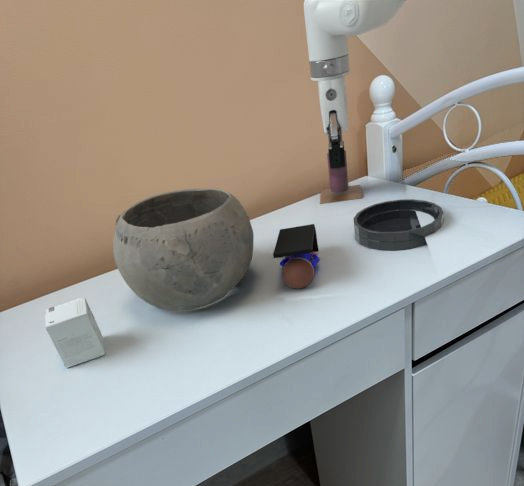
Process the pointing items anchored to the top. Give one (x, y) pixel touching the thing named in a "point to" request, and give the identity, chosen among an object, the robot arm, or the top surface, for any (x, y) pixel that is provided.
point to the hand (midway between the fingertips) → (337, 163)
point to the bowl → (183, 247)
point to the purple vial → (338, 176)
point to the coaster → (340, 195)
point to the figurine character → (297, 254)
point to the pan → (396, 224)
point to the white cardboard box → (74, 332)
